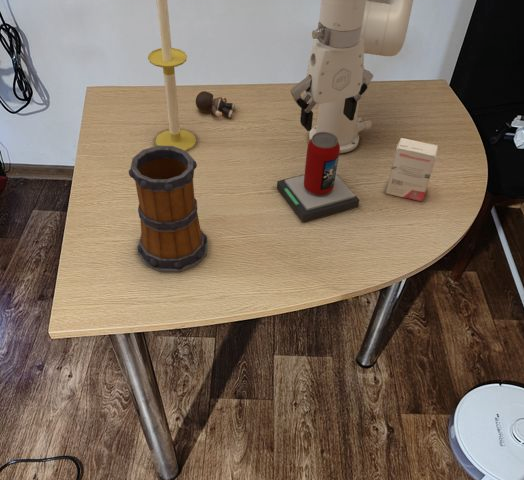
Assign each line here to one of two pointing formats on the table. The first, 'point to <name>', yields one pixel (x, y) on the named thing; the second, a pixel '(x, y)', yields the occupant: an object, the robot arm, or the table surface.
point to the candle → (170, 83)
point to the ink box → (411, 169)
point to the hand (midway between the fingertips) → (327, 122)
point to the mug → (168, 209)
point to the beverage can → (321, 163)
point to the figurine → (214, 104)
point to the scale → (316, 198)
